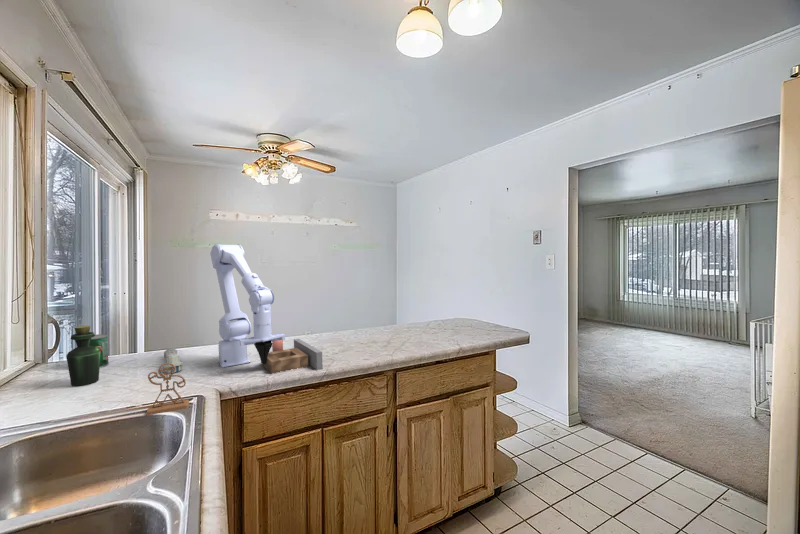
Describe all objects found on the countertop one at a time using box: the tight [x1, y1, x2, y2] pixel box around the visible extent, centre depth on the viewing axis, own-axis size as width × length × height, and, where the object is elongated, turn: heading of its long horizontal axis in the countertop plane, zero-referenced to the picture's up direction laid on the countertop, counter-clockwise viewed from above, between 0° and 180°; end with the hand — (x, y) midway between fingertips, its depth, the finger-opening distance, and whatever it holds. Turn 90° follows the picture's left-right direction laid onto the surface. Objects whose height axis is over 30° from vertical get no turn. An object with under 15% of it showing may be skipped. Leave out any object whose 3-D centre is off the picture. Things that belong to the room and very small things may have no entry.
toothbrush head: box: [163, 347, 184, 374], centre depth 128 cm, size 5×7×25 cm
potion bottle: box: [66, 325, 101, 388], centre depth 110 cm, size 8×8×18 cm
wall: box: [293, 338, 323, 371], centre depth 129 cm, size 2×24×6 cm, turn 35°
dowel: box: [271, 340, 284, 352], centre depth 138 cm, size 4×4×8 cm
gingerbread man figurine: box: [145, 362, 190, 416], centre depth 90 cm, size 9×4×12 cm, turn 116°
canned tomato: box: [89, 333, 110, 369], centre depth 128 cm, size 8×8×11 cm
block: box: [262, 347, 309, 374], centre depth 125 cm, size 12×12×4 cm
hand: (263, 363), depth 121 cm, fingers closed
